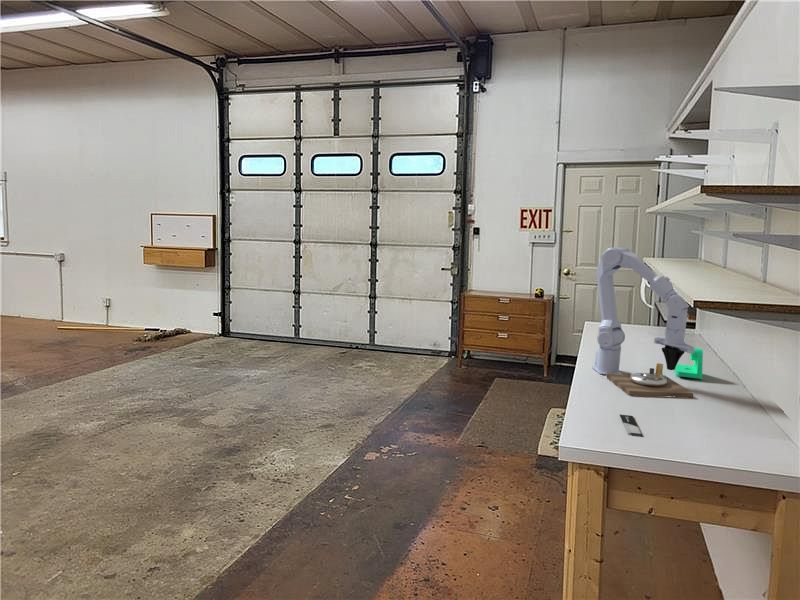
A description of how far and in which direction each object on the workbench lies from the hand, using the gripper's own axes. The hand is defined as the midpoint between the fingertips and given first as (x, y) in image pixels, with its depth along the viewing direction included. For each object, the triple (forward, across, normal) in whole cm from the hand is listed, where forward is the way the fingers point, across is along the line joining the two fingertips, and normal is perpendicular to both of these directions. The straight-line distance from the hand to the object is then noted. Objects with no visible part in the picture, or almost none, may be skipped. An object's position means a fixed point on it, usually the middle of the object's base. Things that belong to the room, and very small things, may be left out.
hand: (670, 369), depth 196 cm
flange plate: (+4, +1, +7) cm, 8 cm away
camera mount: (+6, +8, -17) cm, 20 cm away
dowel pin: (+4, +5, +3) cm, 7 cm away
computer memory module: (+6, -26, +41) cm, 49 cm away
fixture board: (+6, +1, +9) cm, 10 cm away
